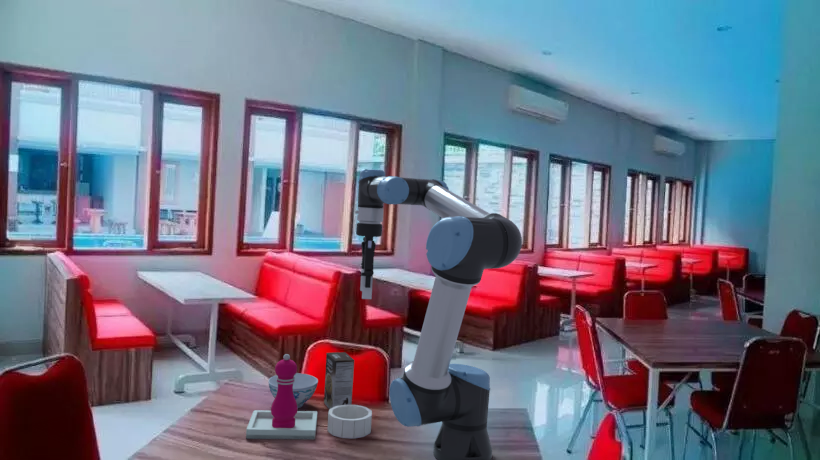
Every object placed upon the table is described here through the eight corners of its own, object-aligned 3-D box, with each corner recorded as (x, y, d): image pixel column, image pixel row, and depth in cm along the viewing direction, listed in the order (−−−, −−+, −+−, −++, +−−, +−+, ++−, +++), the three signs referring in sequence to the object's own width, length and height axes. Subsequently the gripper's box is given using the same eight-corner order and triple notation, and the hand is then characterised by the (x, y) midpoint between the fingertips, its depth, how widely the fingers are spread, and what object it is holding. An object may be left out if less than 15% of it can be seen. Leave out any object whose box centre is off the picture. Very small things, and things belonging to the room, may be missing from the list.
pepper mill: (290, 431, 163) (293, 358, 162) (265, 428, 164) (268, 355, 163) (300, 422, 170) (304, 352, 169) (277, 419, 171) (280, 349, 170)
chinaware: (297, 393, 197) (298, 370, 196) (326, 406, 186) (327, 382, 186) (257, 403, 186) (258, 378, 185) (286, 417, 175) (287, 391, 175)
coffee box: (323, 403, 189) (325, 352, 188) (342, 401, 192) (345, 351, 191) (331, 413, 181) (334, 360, 180) (352, 411, 184) (354, 359, 183)
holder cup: (378, 428, 172) (379, 410, 172) (355, 441, 161) (356, 423, 161) (344, 418, 177) (344, 401, 177) (319, 431, 167) (320, 413, 167)
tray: (316, 419, 175) (317, 411, 175) (314, 439, 161) (315, 430, 161) (253, 418, 173) (253, 410, 173) (245, 438, 159) (246, 429, 159)
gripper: (355, 219, 188) (351, 287, 189) (358, 224, 163) (353, 301, 164) (379, 221, 189) (375, 288, 190) (385, 225, 164) (381, 303, 165)
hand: (365, 294), depth 177 cm, fingers open, 13 cm apart
